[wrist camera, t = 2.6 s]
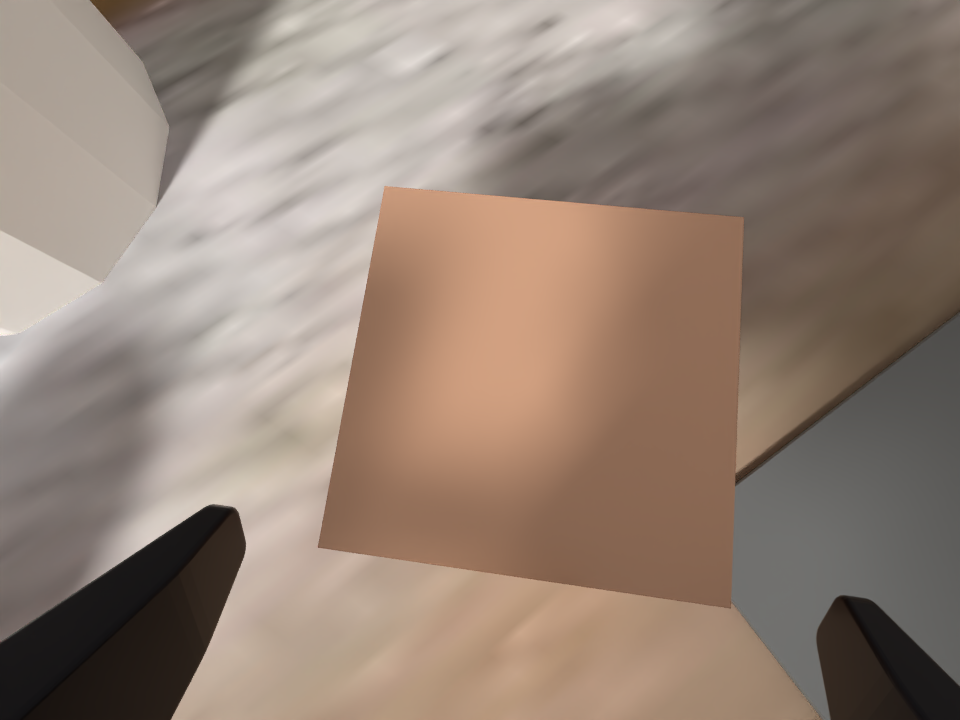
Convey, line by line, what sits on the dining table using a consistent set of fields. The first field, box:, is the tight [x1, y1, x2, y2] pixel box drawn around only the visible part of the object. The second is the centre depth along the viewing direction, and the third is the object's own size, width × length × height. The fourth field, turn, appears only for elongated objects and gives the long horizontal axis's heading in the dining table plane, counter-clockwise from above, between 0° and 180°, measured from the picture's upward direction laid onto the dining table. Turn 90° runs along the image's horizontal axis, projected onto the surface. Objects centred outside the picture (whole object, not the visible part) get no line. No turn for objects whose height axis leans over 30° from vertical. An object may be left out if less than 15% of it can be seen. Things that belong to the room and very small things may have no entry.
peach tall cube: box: [318, 186, 744, 608], centre depth 15 cm, size 6×6×10 cm
